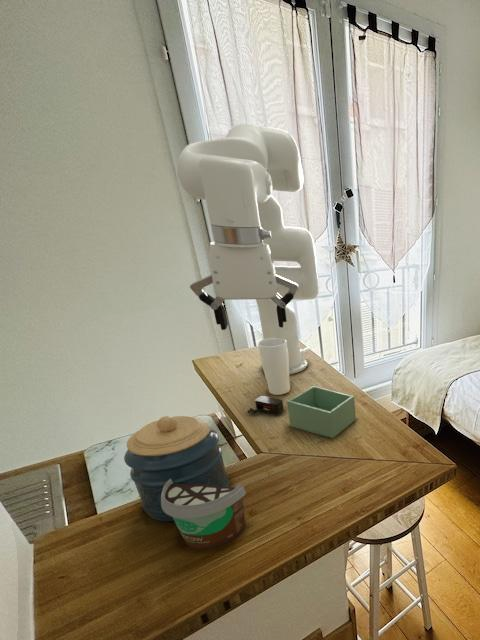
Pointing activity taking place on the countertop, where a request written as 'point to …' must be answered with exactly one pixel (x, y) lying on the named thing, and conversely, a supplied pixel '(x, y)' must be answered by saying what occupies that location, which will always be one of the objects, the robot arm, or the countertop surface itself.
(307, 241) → the robot arm
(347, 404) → the bin
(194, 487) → the food container
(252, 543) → the countertop surface
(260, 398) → the wireless earbuds
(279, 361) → the drinking glass
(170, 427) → the canister
